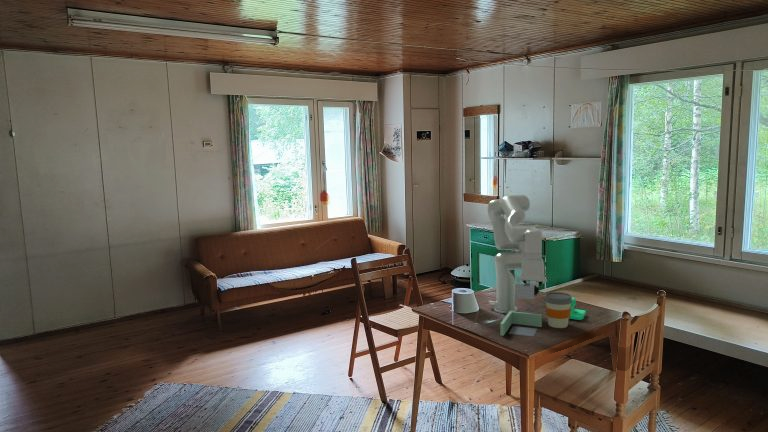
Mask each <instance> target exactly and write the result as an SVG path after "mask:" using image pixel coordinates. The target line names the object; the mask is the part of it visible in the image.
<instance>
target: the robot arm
mask: <svg viewBox="0 0 768 432" xmlns="http://www.w3.org/2000/svg"><path fill="white" fill-rule="evenodd" d="M530 207H531V203H530V199H529V197H528V196H527V195H525V194H516V195H515V194H514V195H513V194H511V195H506V196H503V198H498V199H492V200H490V201H489V202H488V203H487V214H488V218H489V220H490V222H491V226H492V230H493V237H494V239H493V240H494V245H495V247H496V250H498V251H499V250H500V251H501V252H498V253H497V254H496V255H495V256H494V266H495V273H496V274H495V275H496V276H495V277H496V279H495V280H496V289H495V290H496V297H495V298H496V300H494V301H493V300H488V304H489V306H493V311H494V312H496V313H500V314H508V312H509V311H515V312H518V311H519V310H518V307H517V306H515V302H516V301H515V299H516V298H515V285H516V283H515V276H514V275H513V273H512V272H511V271H513V270H514V271H515V270H520V271H521V273H520V277H518V281H520V282H522V283H523V284H524V285H530V284H531V283H530V282H535V283H536V287H535V296H536V297H537V295H538V294H539V291H540V287H541V285H543V284H546V283H548V279H547V277H546V275H545V264H544V259H543V258H542V257H543V256H542V255H543V254H542V253H543V247H542V246H543V244H542V243H543V232H542V231H541V230H540V229H538V228H537V226H536V227H535V226H531V225H530V226H517V225H519V224H521V223H523V221H524V219H525V218H526V212H527V211H529V209H530ZM504 215H505V216H506V218H505V217H503V216H504ZM509 250H510V251H509ZM511 250H515V251H511ZM502 251H504V252H502Z"/></svg>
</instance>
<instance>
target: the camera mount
mask: <svg viewBox="0 0 768 432" xmlns="http://www.w3.org/2000/svg"><path fill="white" fill-rule="evenodd" d="M575 306H576V297H572V303H571V313H570V317H569V320H572V319H573V320H577V321H582V320H584V318H585V316H586V314H587V313H586V312H587V311H586V310H584V309H583V310H582V309H577V308H574V307H575Z"/></svg>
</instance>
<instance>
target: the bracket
mask: <svg viewBox="0 0 768 432" xmlns="http://www.w3.org/2000/svg"><path fill="white" fill-rule="evenodd" d="M530 282H531V283H530V285H525V284H524V283H523V284H522V283H521V284H520V283H515V299H516V298H517V299H526V300H535V298H536V297H537V295H536V296H535V287H536V282H534V281H530Z"/></svg>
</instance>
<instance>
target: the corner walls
mask: <svg viewBox="0 0 768 432" xmlns="http://www.w3.org/2000/svg"><path fill="white" fill-rule="evenodd" d="M512 324H513V325H522V326H528V327H530V326H531V327H540V328H542V326H543V314H540V313H533V312H532V313H531V312H521V311H517V312H515V311H509V312H508V313H506V315H505V316H504V317H503V320H501V322H500V325H499V327H500V329H499V330H500V333H499V335H500V336H501V337H504V336H505V335H506V334H507V331H508V330H509V329H510V327H511V325H512Z"/></svg>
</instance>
